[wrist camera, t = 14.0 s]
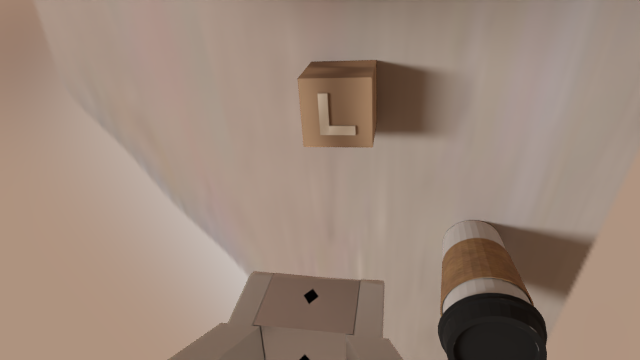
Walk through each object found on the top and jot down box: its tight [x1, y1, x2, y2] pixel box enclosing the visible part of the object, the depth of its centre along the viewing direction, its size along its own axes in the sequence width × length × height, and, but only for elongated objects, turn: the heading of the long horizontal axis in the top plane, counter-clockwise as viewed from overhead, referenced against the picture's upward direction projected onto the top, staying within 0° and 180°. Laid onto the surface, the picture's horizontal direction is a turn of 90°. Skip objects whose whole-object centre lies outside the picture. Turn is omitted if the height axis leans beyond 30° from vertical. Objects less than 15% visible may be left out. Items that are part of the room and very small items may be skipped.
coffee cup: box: [438, 220, 547, 360], centre depth 40 cm, size 8×8×15 cm
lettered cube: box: [298, 60, 377, 147], centre depth 39 cm, size 6×6×6 cm
